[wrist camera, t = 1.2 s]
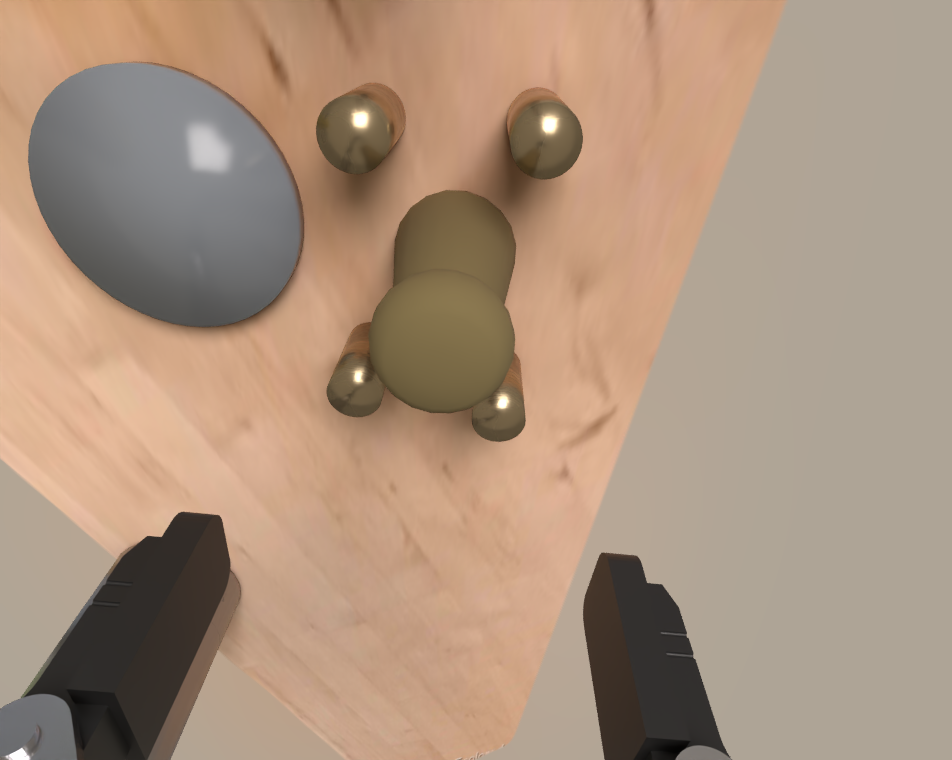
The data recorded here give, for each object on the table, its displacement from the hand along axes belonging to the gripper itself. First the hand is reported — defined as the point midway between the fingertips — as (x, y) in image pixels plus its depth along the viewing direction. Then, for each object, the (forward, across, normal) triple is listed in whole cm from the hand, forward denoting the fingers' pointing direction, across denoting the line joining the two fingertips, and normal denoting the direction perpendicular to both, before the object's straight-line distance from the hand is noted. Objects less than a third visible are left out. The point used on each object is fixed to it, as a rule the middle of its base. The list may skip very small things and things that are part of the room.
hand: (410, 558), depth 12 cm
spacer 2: (+19, +4, +6) cm, 20 cm away
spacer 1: (+19, +4, -6) cm, 20 cm away
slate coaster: (+19, +13, -1) cm, 23 cm away
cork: (+19, 0, 0) cm, 19 cm away
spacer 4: (+19, -3, -6) cm, 20 cm away
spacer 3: (+19, -3, +6) cm, 20 cm away
